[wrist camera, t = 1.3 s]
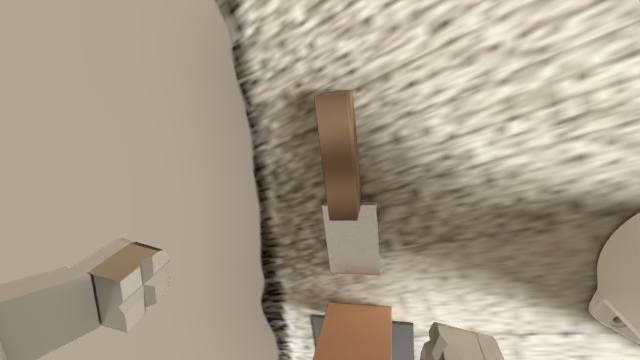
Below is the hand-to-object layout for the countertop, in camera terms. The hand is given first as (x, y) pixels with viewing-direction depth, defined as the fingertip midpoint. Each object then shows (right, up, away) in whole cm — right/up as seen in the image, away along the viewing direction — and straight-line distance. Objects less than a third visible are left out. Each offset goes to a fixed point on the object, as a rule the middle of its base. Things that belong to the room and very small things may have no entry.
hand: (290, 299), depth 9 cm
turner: (+4, +2, +24) cm, 24 cm away
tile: (+6, -13, +29) cm, 33 cm away
